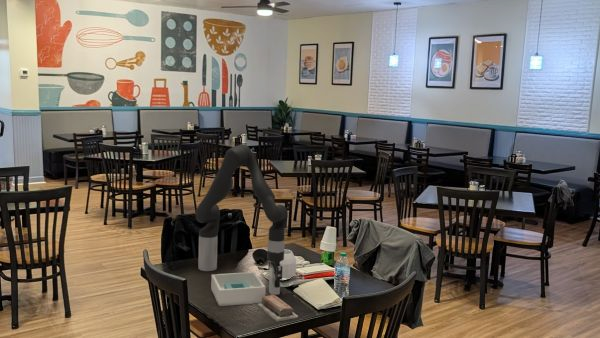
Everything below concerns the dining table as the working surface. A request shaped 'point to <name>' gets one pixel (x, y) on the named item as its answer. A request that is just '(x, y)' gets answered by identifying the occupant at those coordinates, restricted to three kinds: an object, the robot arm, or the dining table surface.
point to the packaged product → (276, 308)
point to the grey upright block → (273, 284)
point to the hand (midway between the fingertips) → (274, 284)
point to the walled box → (237, 288)
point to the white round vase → (288, 264)
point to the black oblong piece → (260, 256)
